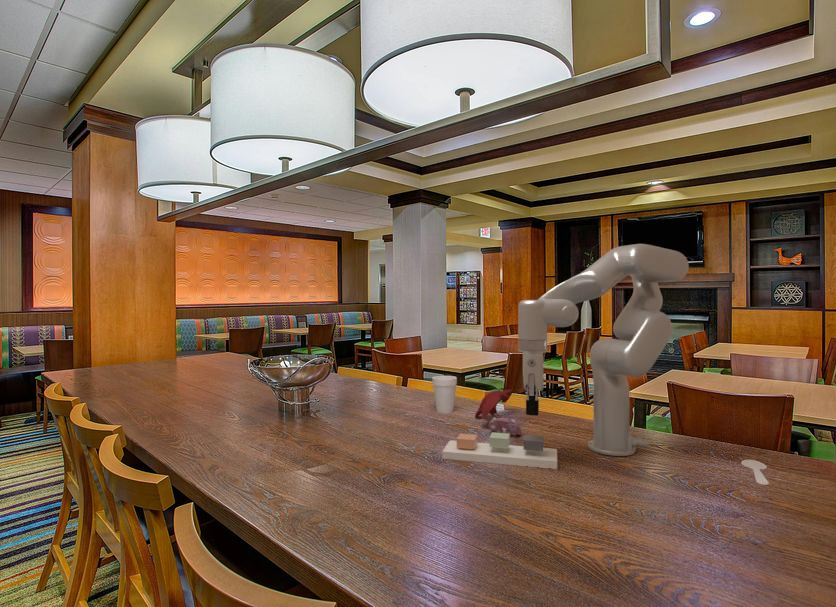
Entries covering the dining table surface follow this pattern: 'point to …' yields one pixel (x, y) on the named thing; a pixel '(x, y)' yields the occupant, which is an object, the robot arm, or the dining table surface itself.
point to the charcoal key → (533, 442)
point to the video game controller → (504, 426)
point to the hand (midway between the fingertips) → (532, 414)
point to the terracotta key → (467, 441)
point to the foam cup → (444, 393)
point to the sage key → (499, 440)
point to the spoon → (756, 470)
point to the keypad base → (502, 455)
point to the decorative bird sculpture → (492, 402)
